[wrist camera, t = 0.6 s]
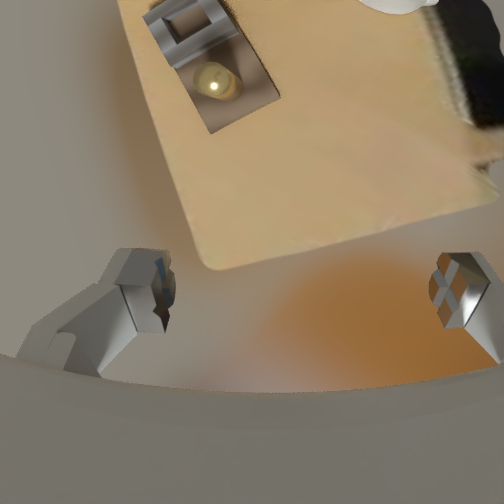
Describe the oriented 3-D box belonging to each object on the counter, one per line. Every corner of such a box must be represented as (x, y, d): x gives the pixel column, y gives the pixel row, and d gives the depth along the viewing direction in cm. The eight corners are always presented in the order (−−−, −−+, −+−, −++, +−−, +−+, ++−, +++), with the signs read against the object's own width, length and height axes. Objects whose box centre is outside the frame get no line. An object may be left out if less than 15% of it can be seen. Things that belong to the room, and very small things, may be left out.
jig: (150, 22, 41) (139, 16, 37) (210, -15, 37) (203, -24, 34) (212, 133, 47) (204, 134, 43) (280, 98, 43) (278, 95, 40)
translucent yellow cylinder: (219, 72, 42) (197, 59, 33) (246, 77, 42) (231, 65, 33) (211, 98, 44) (188, 92, 35) (239, 104, 44) (222, 98, 35)
